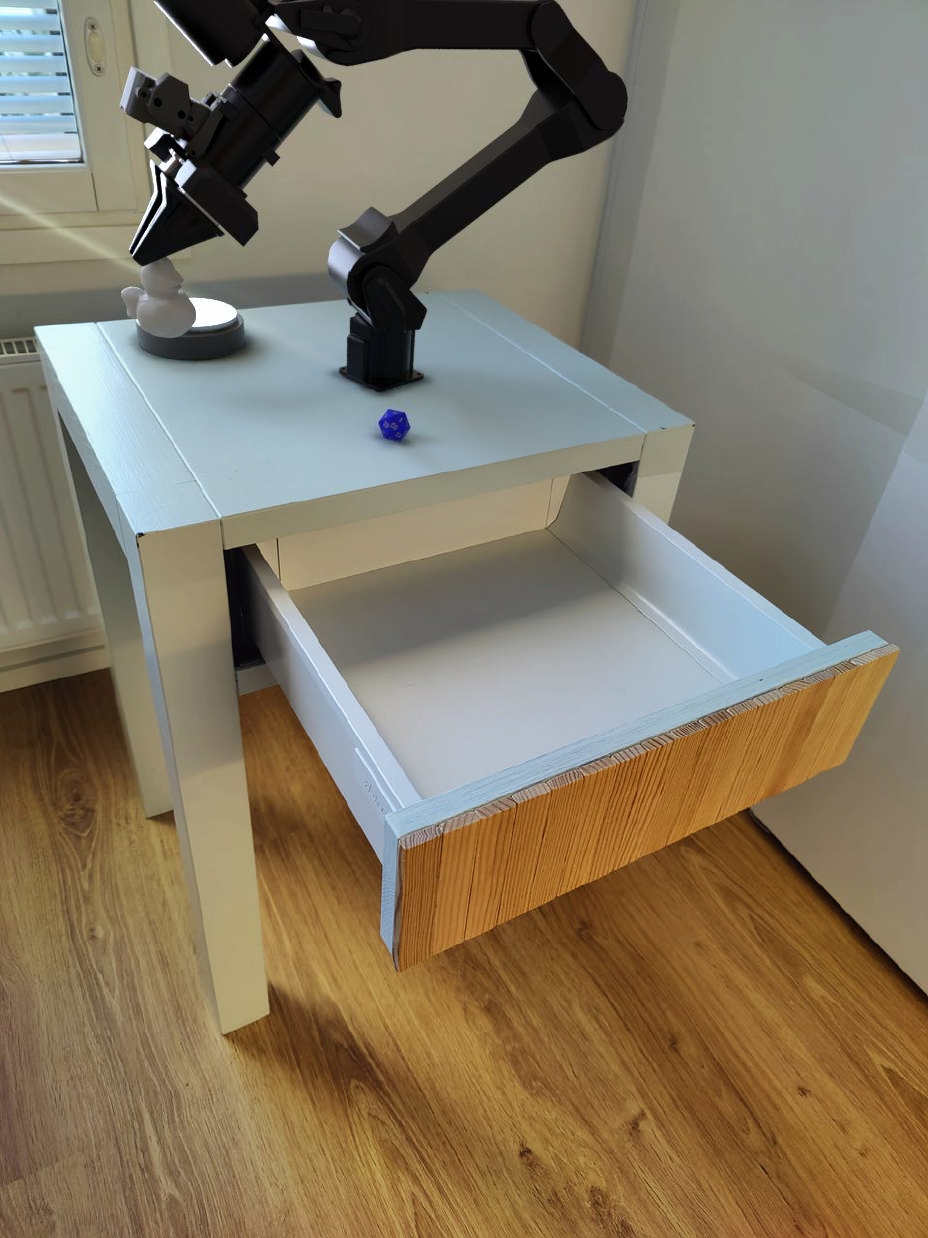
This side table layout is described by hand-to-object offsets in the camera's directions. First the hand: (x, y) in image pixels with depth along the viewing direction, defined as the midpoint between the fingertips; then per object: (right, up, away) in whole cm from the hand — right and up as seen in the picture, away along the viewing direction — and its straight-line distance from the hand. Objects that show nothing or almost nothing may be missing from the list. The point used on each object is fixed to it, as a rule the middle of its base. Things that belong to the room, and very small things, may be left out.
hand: (135, 258), depth 74 cm
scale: (-1, -1, +19) cm, 19 cm away
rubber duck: (+1, -5, +5) cm, 7 cm away
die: (+22, -14, +5) cm, 27 cm away
